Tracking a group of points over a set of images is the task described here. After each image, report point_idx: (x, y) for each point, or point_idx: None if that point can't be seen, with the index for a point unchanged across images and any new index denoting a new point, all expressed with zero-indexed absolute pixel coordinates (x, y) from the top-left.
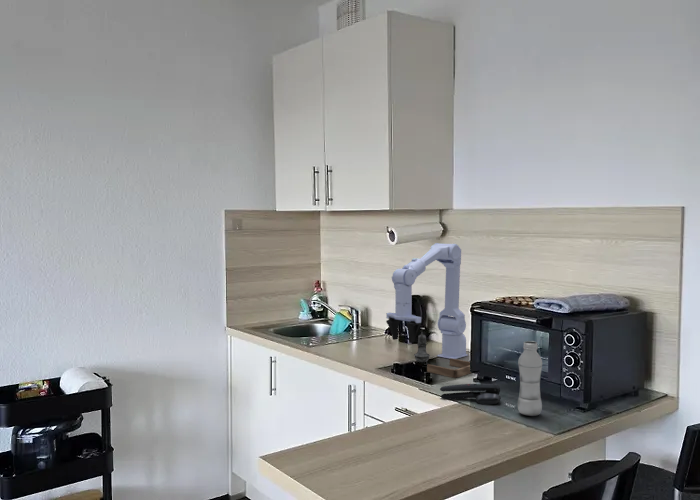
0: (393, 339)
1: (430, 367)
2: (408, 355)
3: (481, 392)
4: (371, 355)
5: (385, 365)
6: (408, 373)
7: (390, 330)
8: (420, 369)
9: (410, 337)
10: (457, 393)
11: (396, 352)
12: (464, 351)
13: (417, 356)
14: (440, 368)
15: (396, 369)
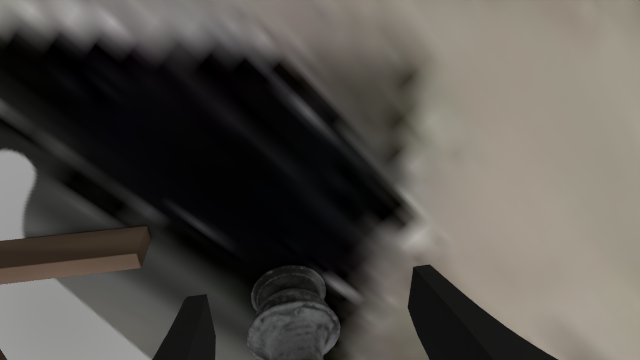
0: (422, 267)
1: (110, 247)
2: None
3: None
4: (590, 233)
5: (421, 151)
6: (184, 120)
7: (505, 326)
8: (216, 232)
9: (162, 343)
10: None
11: None
12: None
13: (287, 302)
14: (18, 262)
15: (311, 134)
